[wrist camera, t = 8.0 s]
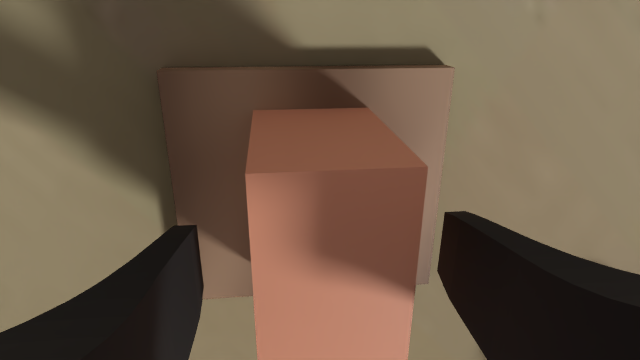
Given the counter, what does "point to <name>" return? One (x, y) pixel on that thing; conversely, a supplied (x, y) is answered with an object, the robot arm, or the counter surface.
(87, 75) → the counter surface
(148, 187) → the counter surface
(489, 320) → the robot arm
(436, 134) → the walnut board
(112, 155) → the counter surface
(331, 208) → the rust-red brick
